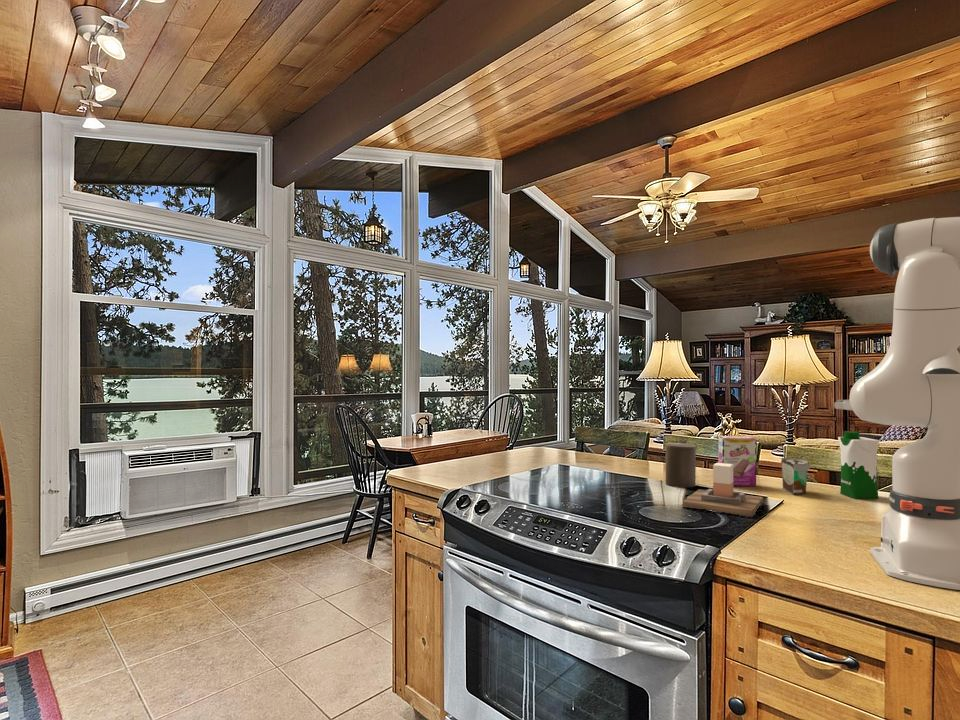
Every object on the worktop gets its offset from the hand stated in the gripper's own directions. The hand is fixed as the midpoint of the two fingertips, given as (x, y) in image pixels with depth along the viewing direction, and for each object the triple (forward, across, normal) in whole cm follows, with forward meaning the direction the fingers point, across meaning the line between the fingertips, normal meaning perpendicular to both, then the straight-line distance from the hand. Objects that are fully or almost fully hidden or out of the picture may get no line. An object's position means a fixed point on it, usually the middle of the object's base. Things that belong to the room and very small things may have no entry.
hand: (835, 404), depth 150 cm
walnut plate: (+27, +10, +30) cm, 42 cm away
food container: (+11, -22, +30) cm, 39 cm away
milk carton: (-5, -26, +30) cm, 40 cm away
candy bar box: (+29, -22, +30) cm, 47 cm away
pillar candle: (+45, -12, +30) cm, 56 cm away
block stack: (+27, +10, +28) cm, 40 cm away
